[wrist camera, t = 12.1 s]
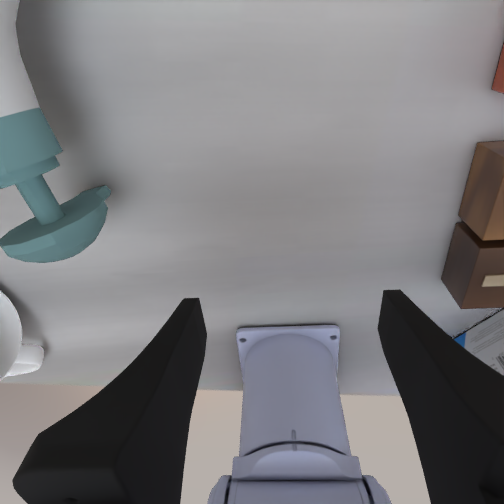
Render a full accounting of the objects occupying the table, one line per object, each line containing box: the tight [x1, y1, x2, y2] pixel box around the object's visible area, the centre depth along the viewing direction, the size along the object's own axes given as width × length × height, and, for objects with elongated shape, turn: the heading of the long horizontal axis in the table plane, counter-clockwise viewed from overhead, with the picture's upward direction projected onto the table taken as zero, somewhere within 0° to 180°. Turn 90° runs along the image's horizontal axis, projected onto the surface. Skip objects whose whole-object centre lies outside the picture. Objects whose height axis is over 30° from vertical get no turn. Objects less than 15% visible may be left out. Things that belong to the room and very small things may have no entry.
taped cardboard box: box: [441, 223, 504, 309], centre depth 22 cm, size 4×4×3 cm
